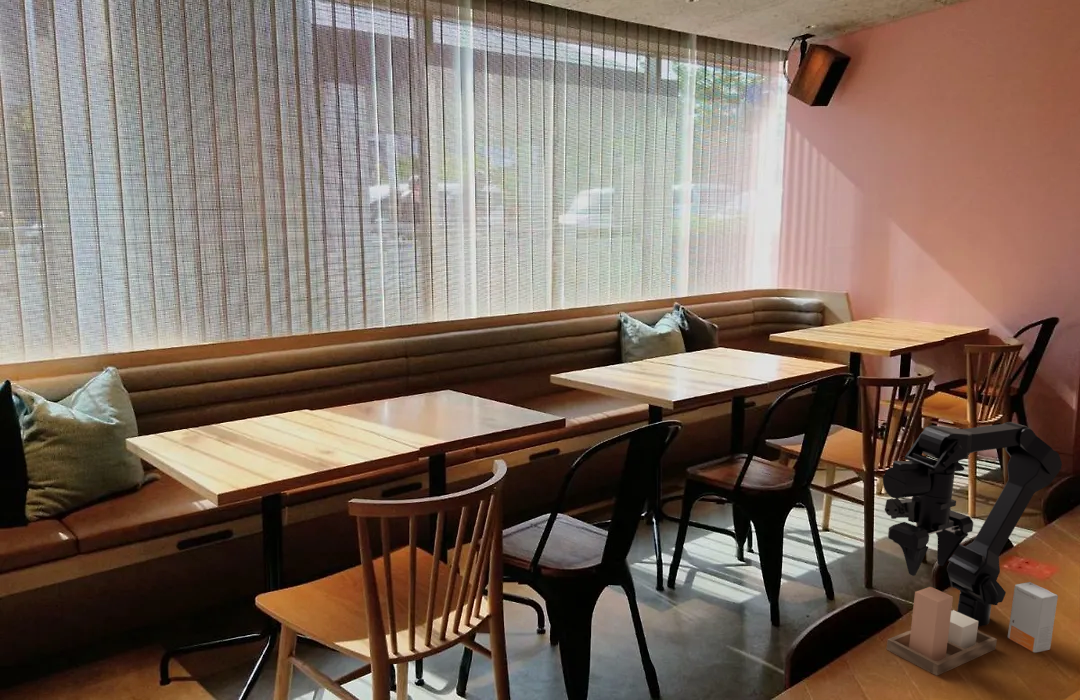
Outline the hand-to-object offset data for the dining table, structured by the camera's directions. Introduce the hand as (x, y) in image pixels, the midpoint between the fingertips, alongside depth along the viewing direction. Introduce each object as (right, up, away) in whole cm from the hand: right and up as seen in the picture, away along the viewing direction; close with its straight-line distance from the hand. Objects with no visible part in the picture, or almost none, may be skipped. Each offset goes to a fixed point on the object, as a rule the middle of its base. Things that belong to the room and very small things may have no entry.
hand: (926, 570), depth 161 cm
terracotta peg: (-4, -14, -8) cm, 16 cm away
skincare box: (+18, -14, -3) cm, 23 cm away
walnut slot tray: (0, -14, -6) cm, 15 cm away
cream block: (+4, -13, -4) cm, 14 cm away
